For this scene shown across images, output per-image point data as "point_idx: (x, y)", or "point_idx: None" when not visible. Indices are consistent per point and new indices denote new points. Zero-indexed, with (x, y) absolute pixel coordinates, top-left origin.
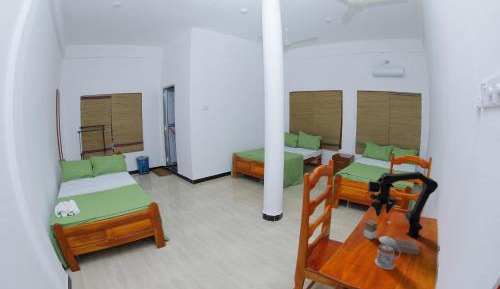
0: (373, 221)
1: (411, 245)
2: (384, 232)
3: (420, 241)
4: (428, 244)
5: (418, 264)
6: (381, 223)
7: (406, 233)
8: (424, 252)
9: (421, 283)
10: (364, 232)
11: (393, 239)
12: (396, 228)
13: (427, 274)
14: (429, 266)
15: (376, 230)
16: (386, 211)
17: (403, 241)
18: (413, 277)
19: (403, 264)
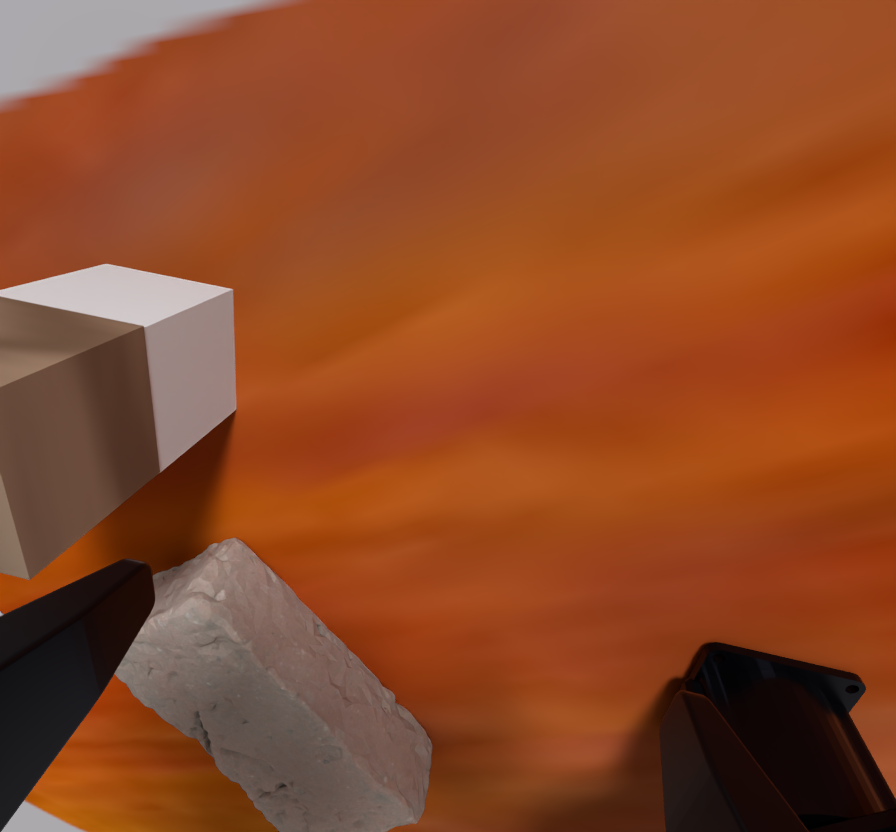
0: (3, 487)
1: (297, 808)
2: (499, 431)
3: (632, 764)
4: (627, 813)
5: (208, 784)
6: (861, 234)
7: (706, 656)
8: (429, 799)
9: (47, 808)
10: (53, 282)
11: (235, 669)
12: (817, 508)
13: (161, 824)
14: (261, 828)
15: (157, 472)
16: (696, 774)
17: (308, 745)
18: (45, 777)
19: (97, 721)
